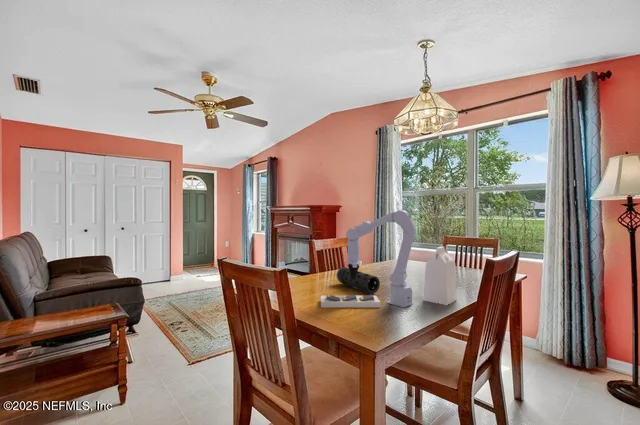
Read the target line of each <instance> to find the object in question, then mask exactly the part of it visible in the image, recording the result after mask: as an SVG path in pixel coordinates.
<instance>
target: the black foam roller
mask: <svg viewBox="0 0 640 425" xmlns="http://www.w3.org/2000/svg"><path fill="white" fill-rule="evenodd" d="M335 276H336V279H337V281H338V282H339V283H341V284H343V285H346V286H347V287H348V288H355V289H357V290H358V291H360V292H363V293H366V294H368V295H371V294H372V295H373V296H374V294H375V293H377V292H378V291H379V289H380V287H381V286H380V285H381V284H380V283H381V281H380V279H379V277H377V276H376V275H372V274H368V273H365V272H362V271H357V275H356V279H351V276H350V270H349V267H348V266H346V267H345V266H343V267H340V268H339V269H337V271H336V274H335Z"/></svg>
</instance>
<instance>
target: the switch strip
mask: <svg viewBox="0 0 640 425" xmlns="http://www.w3.org/2000/svg"><path fill="white" fill-rule="evenodd" d="M334 296H335V297H339V301H332V300H329V299H326V295H320V308H381V300H380V299H379V298H378V296H377V295H373V297H374V299H372V300H368V301H361V300H360V297H364V296H365V295H356V298H357V299H354V300H351V301H344V300H343V297H347V296H348V295H334Z"/></svg>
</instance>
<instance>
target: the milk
mask: <svg viewBox="0 0 640 425" xmlns="http://www.w3.org/2000/svg"><path fill="white" fill-rule="evenodd" d="M456 269H457V268H456V262H455V261H454V259H453V258H452V257H451V256H450V255H449V254H448V253H447V252H446V248H445V246H439V247H436V251H435V254H433V256H431V257H430V258H429V259H427V260H426V263H425V269H424V270H425V271H424V283H423V284H424V285H423V298H422V299H423V301H425V302H428V303H429V302H430V303H434V304H438V303H439V305H442V304H443V305H442V306H448V304H449V305H451V304H452V303H454V302H455V301H457V272H456Z"/></svg>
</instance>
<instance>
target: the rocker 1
mask: <svg viewBox="0 0 640 425" xmlns="http://www.w3.org/2000/svg"><path fill="white" fill-rule="evenodd" d="M325 296H326V299H329V300H332V301H339V297H335V296H336V295H331V294H326V295H325Z"/></svg>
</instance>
